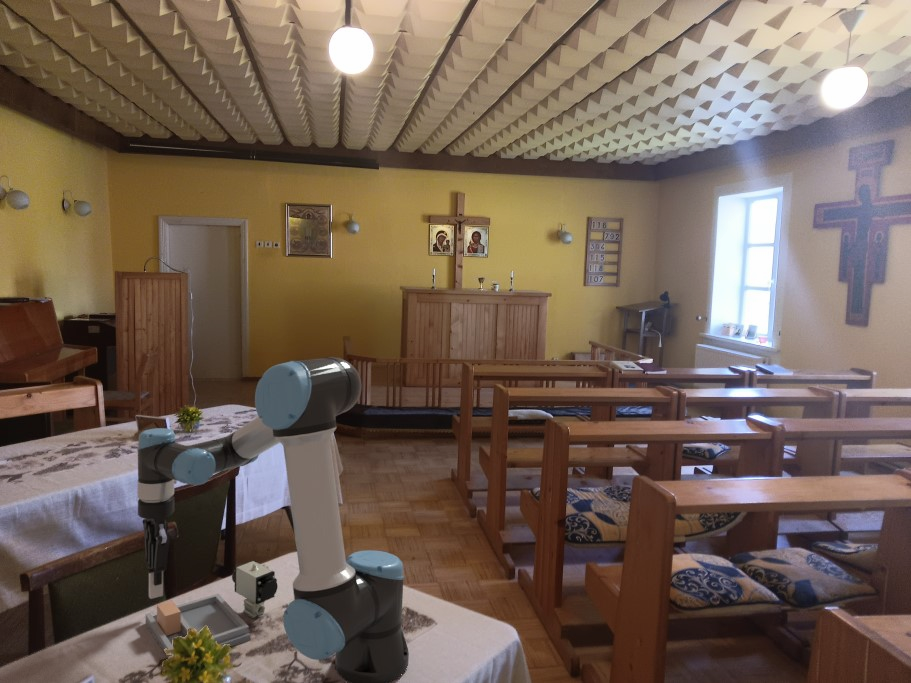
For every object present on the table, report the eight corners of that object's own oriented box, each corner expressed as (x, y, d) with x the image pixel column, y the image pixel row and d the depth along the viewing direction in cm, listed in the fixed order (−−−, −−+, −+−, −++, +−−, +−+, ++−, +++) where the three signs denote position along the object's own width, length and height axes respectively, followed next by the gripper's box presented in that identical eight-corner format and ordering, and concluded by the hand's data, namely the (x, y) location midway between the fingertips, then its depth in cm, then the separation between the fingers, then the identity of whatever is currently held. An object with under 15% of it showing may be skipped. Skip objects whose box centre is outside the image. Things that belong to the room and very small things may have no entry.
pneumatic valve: (260, 626, 142) (261, 575, 141) (230, 608, 149) (231, 560, 148) (280, 616, 147) (281, 567, 146) (250, 599, 154) (251, 552, 153)
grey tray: (250, 639, 137) (250, 624, 137) (173, 666, 126) (173, 649, 126) (216, 602, 152) (216, 587, 152) (145, 623, 141) (145, 608, 141)
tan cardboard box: (180, 631, 137) (180, 611, 136) (165, 636, 135) (165, 616, 134) (172, 619, 141) (172, 600, 141) (156, 623, 139) (156, 604, 139)
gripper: (183, 502, 140) (182, 603, 142) (165, 486, 150) (164, 580, 152) (146, 509, 135) (146, 613, 137) (130, 491, 145) (130, 589, 147)
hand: (155, 595), depth 145 cm, fingers closed
